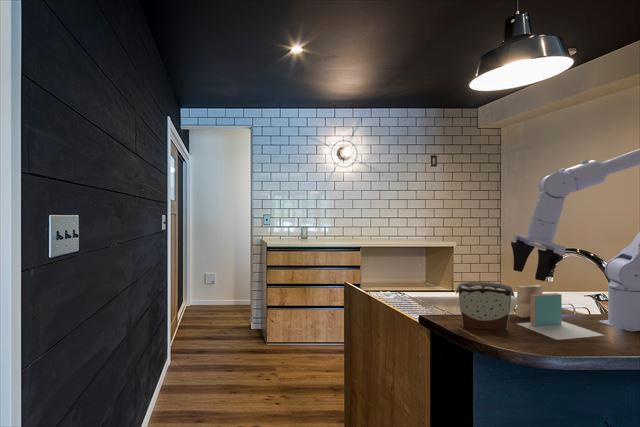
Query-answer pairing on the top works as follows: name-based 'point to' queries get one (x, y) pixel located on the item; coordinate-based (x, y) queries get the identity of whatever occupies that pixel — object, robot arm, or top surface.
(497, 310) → the food container
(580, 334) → the mat
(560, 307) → the tile
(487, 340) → the top surface
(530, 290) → the beige upright block
